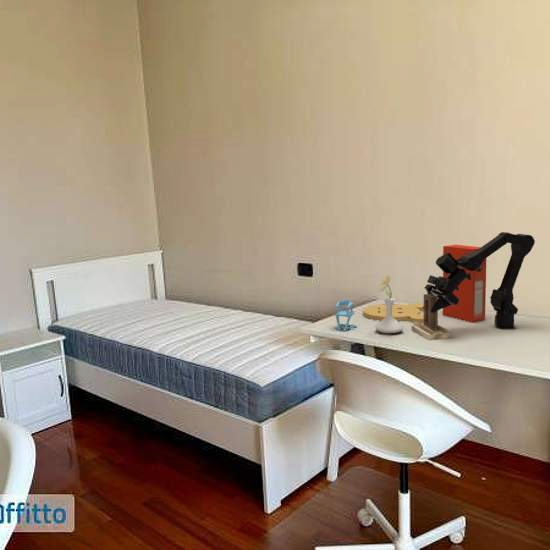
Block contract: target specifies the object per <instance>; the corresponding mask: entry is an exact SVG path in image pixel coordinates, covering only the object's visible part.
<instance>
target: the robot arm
mask: <svg viewBox="0 0 550 550" xmlns="http://www.w3.org/2000/svg"><path fill="white" fill-rule="evenodd" d="M535 243H536V240H535V239H534V236H533V235H531V234H525V233H524V234H523V233H517V234H514V233H511V232H507V231H505V232H504V231H501V232H500V233H498V235H497V236H495V237H493V238H492V239H491V240H490V241H488V242H487V243H485V244H484V245H482V246H481V248H479V249H478V250H476V251H474V252H470V253H468V254H466V255H464V256H462V257H461V258H460V259H455V258H454V257H453V256H452V255H451V254H450V253H448V252H447V253H446V254H444V255H443V254H442V255H441V256H439V257H438V258H437V259H436V261H435V265H437V267H438V268H439V269H440V270H441V271H442V273H443V272H444V273H446V274H448V273H450V274H449V275H448V276H447V278H444V277H443V276H441V275H440V276H434V275H431V274H430V275H429V277H428V279H427V281H426V283H428V284H426V285H425V286H424V290H426V293H427V294H432V295H435V296H437V297H438V301H437V302H436V303H435V305H434V306H433V308H432V309H431V312H432V313H433V312H436V311H438V312H439V311H440V310H443V308H445V307H448V306H451V303H452V305H455V306H456V305H457V304H458V303H459V299H458V298H457V297H456V296H455V295H454V294H453V292H454V291H455V290H458V289H459V288H458V286H459V285H460V284H461V283H462V282H463V280H464V279H467V280H471V273H467V272H466V271H465V270H469V271H475V270H477V269H478V268H479V267H480V266H481V265H482V263H483V261H484V260H485V259H486V260H487V258H488V257H489V256H491V255H492V254H494V253H495V252H497V251H498V250H500V249H501V248H503V247H504V246H505V245H507V244H510V250H511V255H510V258H509V260H508V264H507V266H506V270H505V272H504V275H503V278H502V281H501V283H500V286H499V287H498V288H497V289H495V288H494V289H493V290H492V293H491V295H490V297H489V299H490V302H489V303H490V304H491V306H492V307H493V310H494V311H496V312H495V313H496V314H494V326H496V327H497V329H516V326H515V315H517V314H518V311H519V309H518V307H517V306H515V304H514V303H513V302H514V298H515V297H514V293H513V291H514V287H515V285H516V282H517V279H518V277H519V273H520V272H521V271H520V270H521V268H522V265H523V262H524V259H525V257H526V256H527V255H528V254H530V252H531V251H532V249H533V248H534V245H535ZM458 266H460V267H461V268H462V269H460V268H459V267H458ZM464 269H465V270H464ZM423 308H424V306H423Z"/></svg>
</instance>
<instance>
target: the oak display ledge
mask: <svg viewBox="0 0 550 550" xmlns="http://www.w3.org/2000/svg"><path fill="white" fill-rule="evenodd" d="M411 331H412V332H413V333H416V334H417V333H418V334H417V335H419V336H421V337H423V338H424V339H426V340H427V341H432V340H433V341H434V340H443V339H450V338H451V332H449V329H447V328H445V327H443V326H441V325H440V324H438V327H437V328H429V327H428V326H426V325H424V324H420V323H418V322H414V323H413V325H411Z"/></svg>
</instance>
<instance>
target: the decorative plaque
mask: <svg viewBox="0 0 550 550" xmlns="http://www.w3.org/2000/svg"><path fill="white" fill-rule="evenodd" d="M423 306H424V303H421V302H414V303H412V302H411V303H408V304H407V305H405V304H400V303H399V304H394V303H393V306H392V316H393V318H394V319H395V320H397V321H403V322H410V323H412V324H414V322H418V323H420V324H422V325H423V324H424V313H421V312H420V311H423V312H424V308H423ZM386 313H387V310H386V304H373V305H369V306H366V307H364V308H363V309H362V316H363V317H364V318H366V319H368V318H369V319H368V320H371V319H373V320H372V321H376V320H379V321H378V322H380V321H382V320H383V319H384V318H385V317H386Z"/></svg>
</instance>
